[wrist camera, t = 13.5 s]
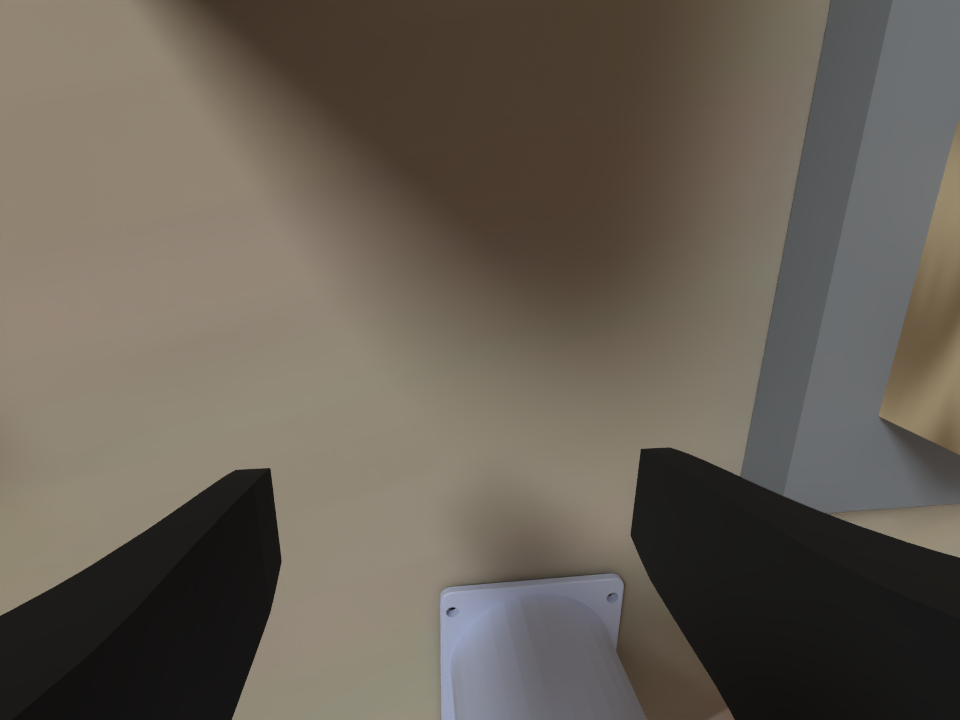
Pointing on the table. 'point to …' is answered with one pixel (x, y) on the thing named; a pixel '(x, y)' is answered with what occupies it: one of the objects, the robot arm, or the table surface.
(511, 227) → the table surface
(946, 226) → the tan rectangular block
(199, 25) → the table surface
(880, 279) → the loading dock
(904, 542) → the robot arm
